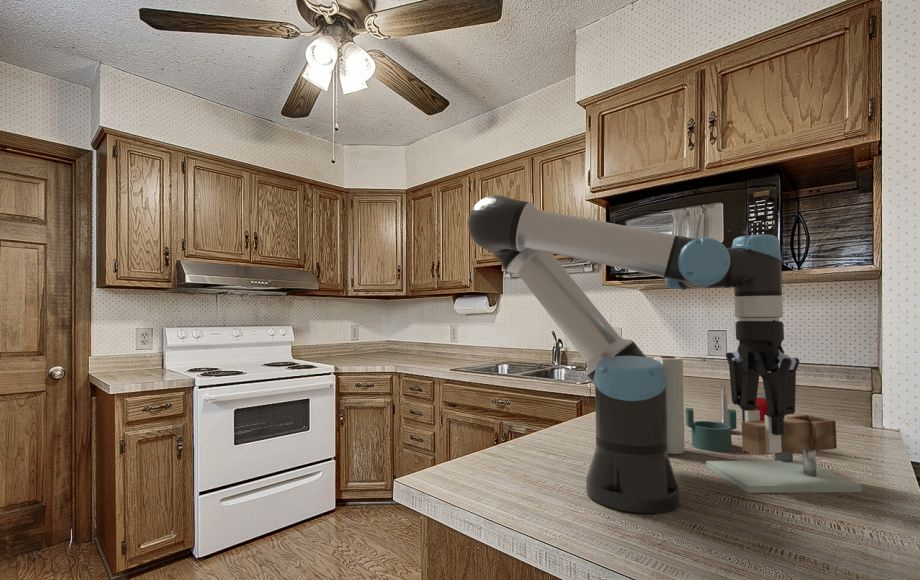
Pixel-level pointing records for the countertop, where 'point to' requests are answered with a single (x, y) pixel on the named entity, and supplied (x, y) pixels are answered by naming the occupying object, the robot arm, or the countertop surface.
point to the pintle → (809, 462)
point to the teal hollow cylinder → (712, 432)
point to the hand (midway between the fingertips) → (763, 448)
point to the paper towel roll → (674, 403)
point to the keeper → (784, 456)
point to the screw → (723, 403)
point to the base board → (780, 477)
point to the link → (792, 434)
